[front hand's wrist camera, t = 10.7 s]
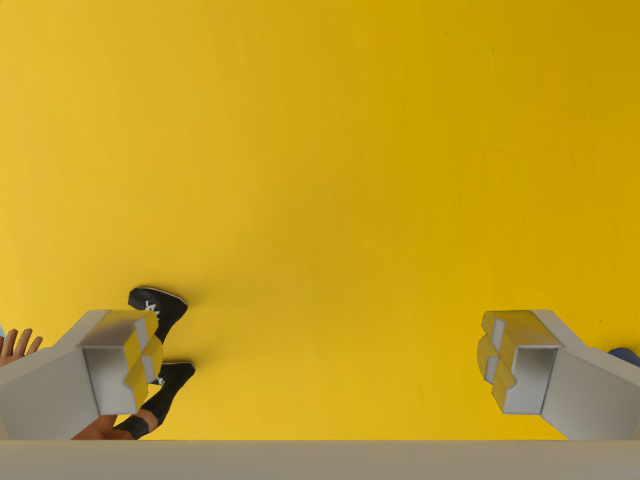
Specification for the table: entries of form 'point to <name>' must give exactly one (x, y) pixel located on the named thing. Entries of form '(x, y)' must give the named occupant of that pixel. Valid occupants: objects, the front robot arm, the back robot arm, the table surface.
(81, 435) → the figurine
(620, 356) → the canister
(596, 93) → the table surface
